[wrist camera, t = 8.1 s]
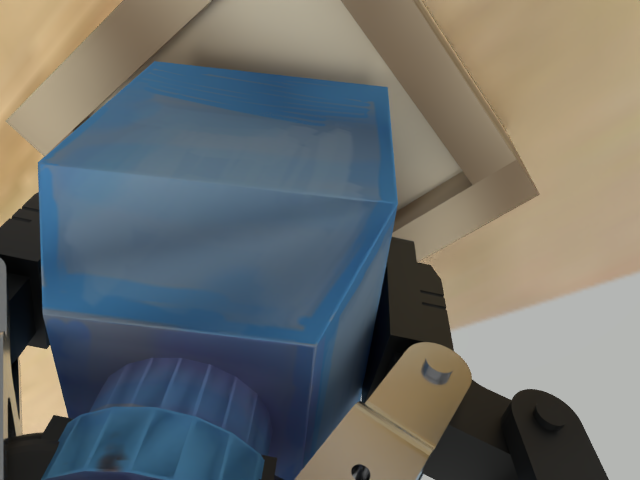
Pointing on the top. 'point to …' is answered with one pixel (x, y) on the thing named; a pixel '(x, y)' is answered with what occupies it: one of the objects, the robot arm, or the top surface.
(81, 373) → the perfume bottle
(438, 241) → the square tray
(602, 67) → the top surface
